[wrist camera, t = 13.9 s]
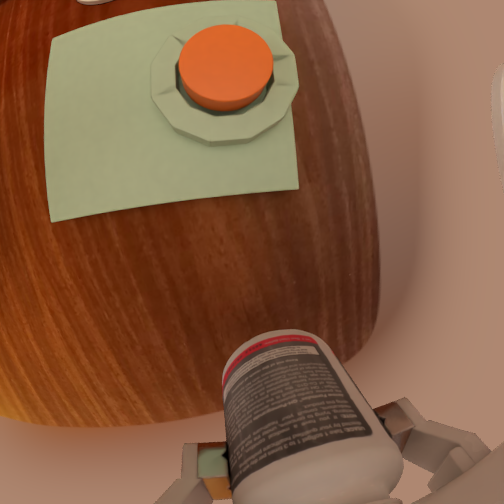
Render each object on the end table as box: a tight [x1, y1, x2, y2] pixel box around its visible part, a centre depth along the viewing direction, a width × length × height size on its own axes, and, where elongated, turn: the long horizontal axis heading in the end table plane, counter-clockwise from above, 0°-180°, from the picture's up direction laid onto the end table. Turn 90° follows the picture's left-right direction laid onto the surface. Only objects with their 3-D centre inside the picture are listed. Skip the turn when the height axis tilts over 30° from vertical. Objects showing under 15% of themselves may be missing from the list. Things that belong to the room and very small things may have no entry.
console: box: [44, 0, 299, 223], centre depth 13 cm, size 14×12×4 cm
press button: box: [178, 24, 274, 111], centre depth 11 cm, size 4×4×2 cm
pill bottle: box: [222, 329, 403, 504], centre depth 8 cm, size 5×5×10 cm
